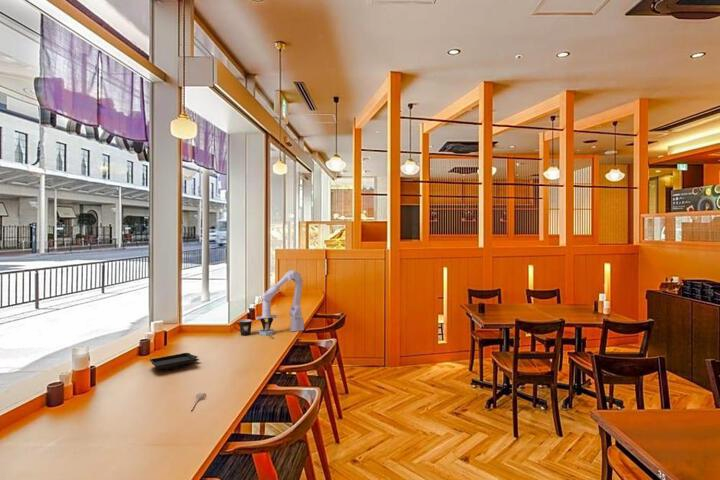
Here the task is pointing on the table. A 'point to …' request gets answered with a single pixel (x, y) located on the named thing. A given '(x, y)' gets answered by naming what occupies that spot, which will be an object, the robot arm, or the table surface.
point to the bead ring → (266, 332)
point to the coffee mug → (245, 327)
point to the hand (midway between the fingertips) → (266, 329)
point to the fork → (199, 396)
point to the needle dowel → (266, 326)
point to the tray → (173, 361)
